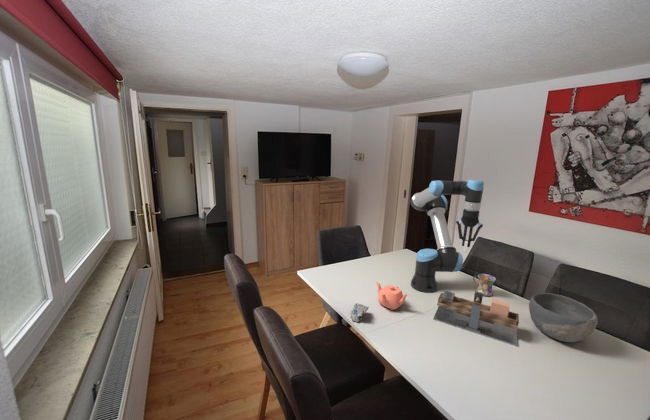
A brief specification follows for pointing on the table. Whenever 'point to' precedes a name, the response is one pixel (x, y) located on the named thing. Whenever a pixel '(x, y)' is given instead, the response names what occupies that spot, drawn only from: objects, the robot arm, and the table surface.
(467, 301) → the beam
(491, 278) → the mug
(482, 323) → the stand
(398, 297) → the teapot
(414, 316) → the table surface
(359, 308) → the mineral specimen
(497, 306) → the block
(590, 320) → the bowl
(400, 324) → the table surface
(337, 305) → the table surface
